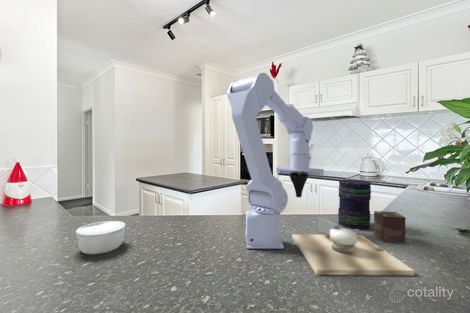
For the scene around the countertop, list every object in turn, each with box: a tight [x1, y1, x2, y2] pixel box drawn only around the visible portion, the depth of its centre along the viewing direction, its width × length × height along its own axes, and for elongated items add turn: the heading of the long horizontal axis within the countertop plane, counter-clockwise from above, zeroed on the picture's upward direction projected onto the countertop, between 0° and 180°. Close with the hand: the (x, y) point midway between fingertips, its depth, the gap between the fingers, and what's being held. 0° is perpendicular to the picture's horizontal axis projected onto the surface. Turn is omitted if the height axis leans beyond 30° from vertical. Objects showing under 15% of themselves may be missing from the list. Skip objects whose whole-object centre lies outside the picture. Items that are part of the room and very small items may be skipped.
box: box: [373, 210, 407, 244], centre depth 68 cm, size 6×6×7 cm
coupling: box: [316, 216, 358, 245], centre depth 61 cm, size 12×6×3 cm, turn 15°
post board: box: [291, 233, 416, 276], centre depth 58 cm, size 20×20×3 cm
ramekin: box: [75, 220, 126, 255], centre depth 60 cm, size 11×11×5 cm
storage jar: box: [337, 179, 372, 231], centre depth 79 cm, size 10×10×15 cm
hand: (298, 196), depth 75 cm, fingers closed
